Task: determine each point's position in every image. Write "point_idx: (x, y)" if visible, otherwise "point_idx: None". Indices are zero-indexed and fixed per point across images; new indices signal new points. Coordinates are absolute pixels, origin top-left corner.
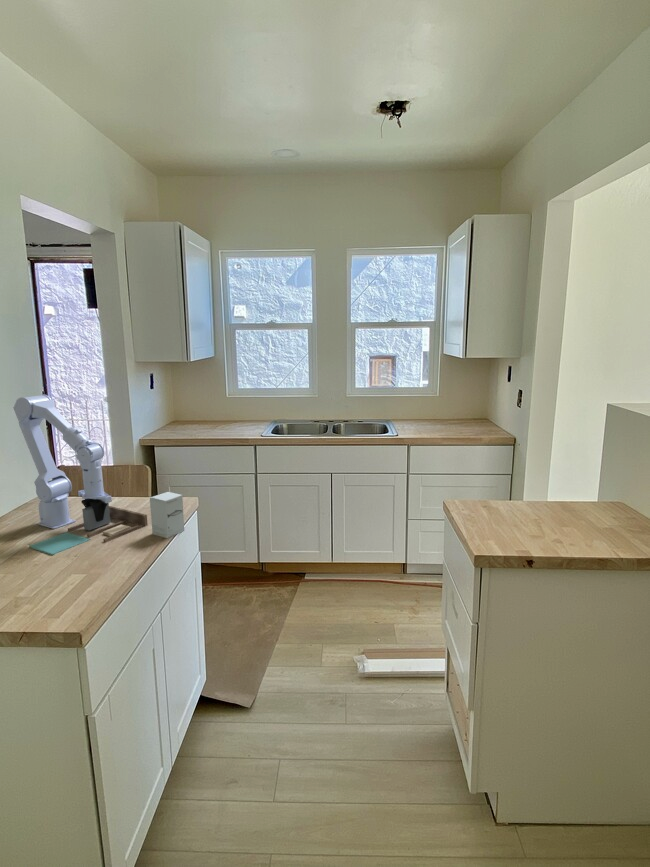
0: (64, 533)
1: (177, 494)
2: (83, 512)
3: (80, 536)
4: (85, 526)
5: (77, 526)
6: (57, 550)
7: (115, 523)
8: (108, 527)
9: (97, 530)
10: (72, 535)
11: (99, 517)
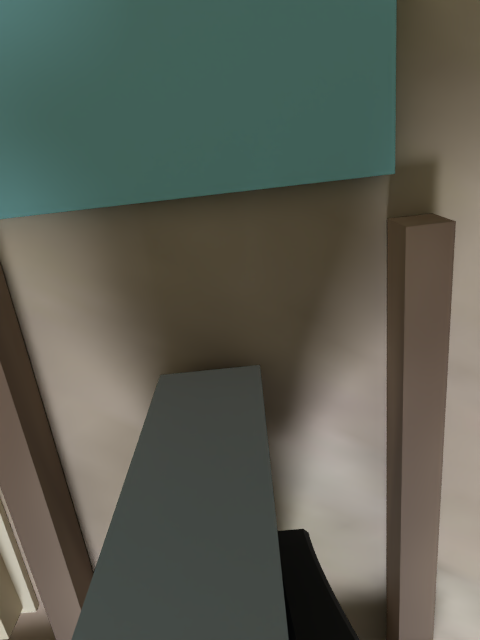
0: (380, 124)
1: None
2: (244, 588)
3: (54, 207)
4: (225, 390)
5: (402, 350)
6: None
7: None
8: (19, 536)
9: (14, 423)
10: (192, 157)
11: None
